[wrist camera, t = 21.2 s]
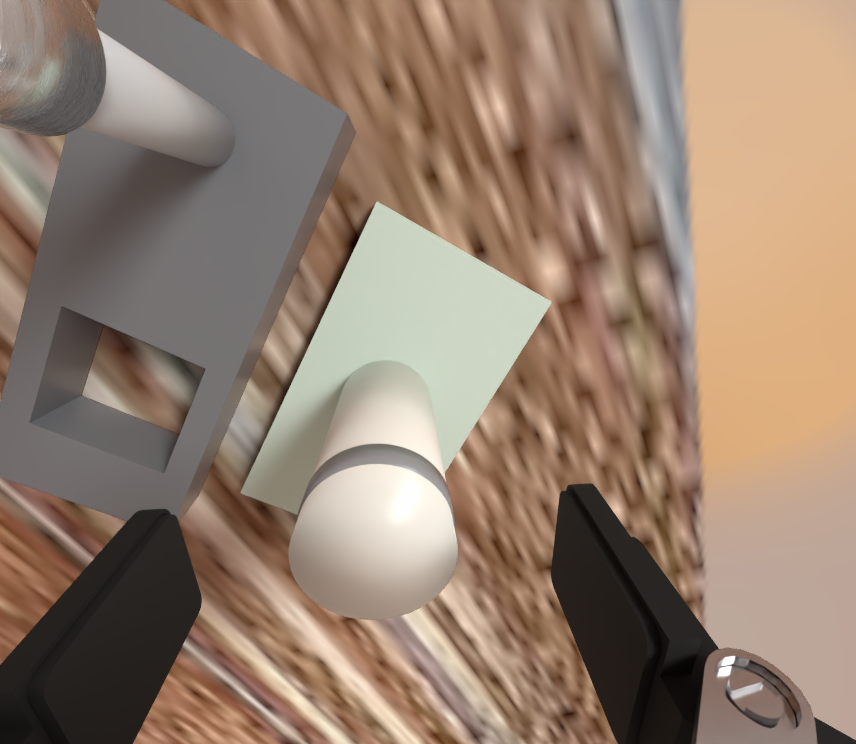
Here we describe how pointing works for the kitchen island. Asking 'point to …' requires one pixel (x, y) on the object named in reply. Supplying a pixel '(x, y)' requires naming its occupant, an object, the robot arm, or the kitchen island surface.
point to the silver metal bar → (49, 66)
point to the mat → (399, 345)
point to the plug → (377, 502)
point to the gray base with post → (163, 254)
